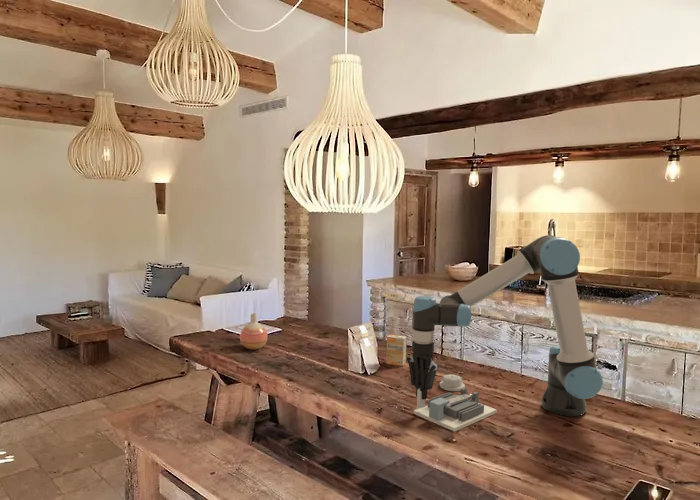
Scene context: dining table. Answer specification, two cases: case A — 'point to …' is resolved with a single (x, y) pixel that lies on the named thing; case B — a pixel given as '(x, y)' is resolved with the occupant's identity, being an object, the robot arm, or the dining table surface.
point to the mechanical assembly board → (458, 412)
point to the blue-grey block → (437, 408)
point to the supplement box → (396, 350)
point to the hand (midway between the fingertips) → (420, 406)
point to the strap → (458, 399)
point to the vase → (253, 334)
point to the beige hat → (452, 383)
